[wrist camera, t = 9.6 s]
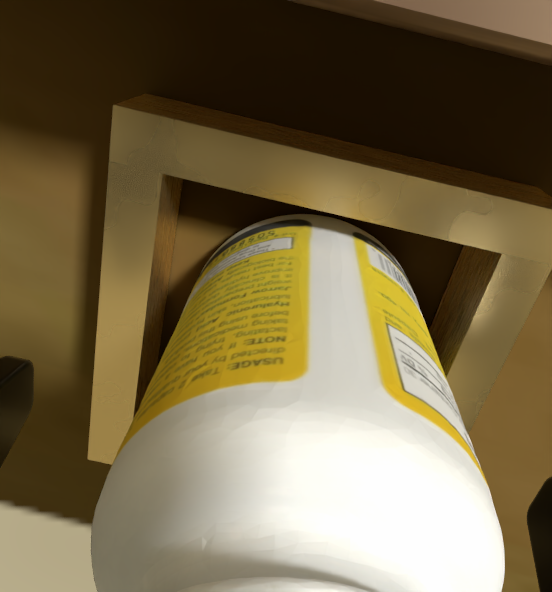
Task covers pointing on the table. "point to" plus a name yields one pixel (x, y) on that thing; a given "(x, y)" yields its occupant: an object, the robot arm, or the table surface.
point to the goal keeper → (315, 195)
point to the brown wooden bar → (463, 22)
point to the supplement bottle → (298, 435)
